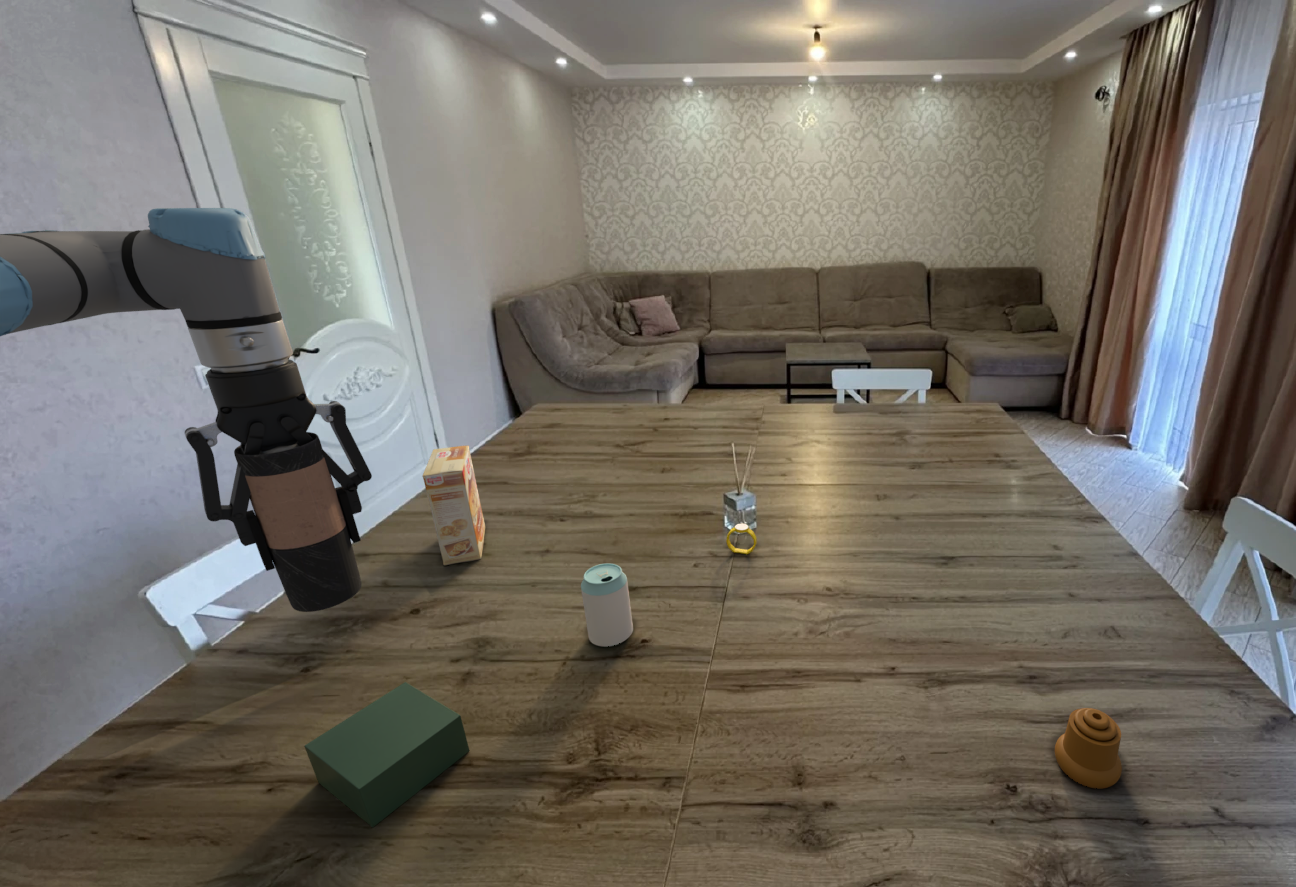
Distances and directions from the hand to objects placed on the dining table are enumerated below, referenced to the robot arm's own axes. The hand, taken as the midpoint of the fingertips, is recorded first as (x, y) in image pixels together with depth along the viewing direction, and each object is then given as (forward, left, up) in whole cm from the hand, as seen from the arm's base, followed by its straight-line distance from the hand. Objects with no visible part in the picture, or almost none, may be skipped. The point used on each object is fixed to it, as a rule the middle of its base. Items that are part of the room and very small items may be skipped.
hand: (313, 551), depth 72 cm
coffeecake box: (+26, +41, -27) cm, 56 cm away
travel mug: (0, 0, -6) cm, 6 cm away
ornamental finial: (+60, -72, -27) cm, 98 cm away
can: (+32, -7, -27) cm, 43 cm away
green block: (0, -10, -27) cm, 29 cm away
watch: (+64, -3, -27) cm, 70 cm away
